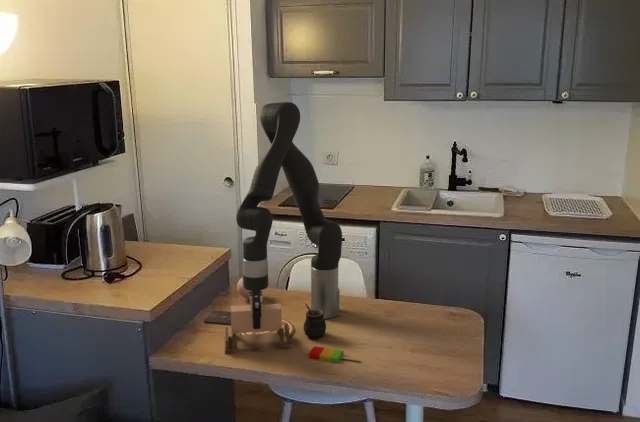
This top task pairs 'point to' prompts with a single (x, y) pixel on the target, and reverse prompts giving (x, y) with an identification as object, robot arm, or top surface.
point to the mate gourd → (314, 324)
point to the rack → (257, 341)
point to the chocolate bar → (219, 318)
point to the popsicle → (328, 354)
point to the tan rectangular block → (244, 319)
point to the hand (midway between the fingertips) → (256, 324)
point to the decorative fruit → (242, 289)
